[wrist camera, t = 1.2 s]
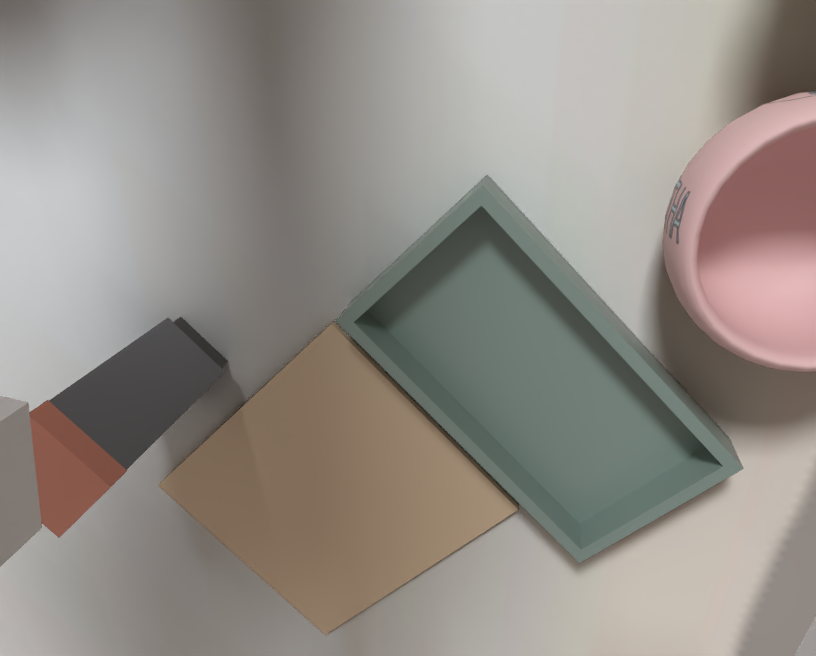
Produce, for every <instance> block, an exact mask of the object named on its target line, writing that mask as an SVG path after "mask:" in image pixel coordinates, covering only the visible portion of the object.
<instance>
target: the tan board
mask: <svg viewBox="0 0 816 656" xmlns="http://www.w3.org/2000/svg"><path fill="white" fill-rule="evenodd" d="M158 486H159V487H160V488H161V489H162V490H164V491H165V492H166V493H167V494H168V495H169V496H170V497H171V498H172V499H174V500H175V501H176V502H177V503H178V504H179V505H180V506H181V507H183V508H184V509H185V510H186V511H187V512H188V513H189V514H190V515H191V516H193V517H194V518H195V519H196V520H197V521H198V522H199V523H200V524H202V525H203V526H204V527H205V528H206V529H207V530H208V531H209V532H210V533H212V534H213V535H214V536H215V537H216V538H217V539H218V540H219V541H221V542H222V543H223V544H224V545H225V546H226V547H227V548H228V549H230V550H231V551H232V552H233V553H234V554H235V555H236V556H237V557H238V558H240V559H241V560H242V561H243V562H244V563H245V564H246V565H247V566H249V567H250V568H251V569H252V570H253V571H254V572H255V573H256V574H257V575H259V576H260V577H261V578H262V579H263V580H264V581H265V582H266V583H268V584H269V585H270V586H271V587H272V588H273V589H274V590H275V591H276V592H278V593H279V594H280V595H281V596H282V597H283V598H284V599H285V600H287V601H288V602H289V603H290V604H291V605H292V606H293V607H294V608H296V609H297V610H298V611H299V612H300V613H301V614H302V615H303V616H304V617H306V618H307V619H308V620H309V621H310V622H311V623H312V624H313V625H315V626H316V627H317V628H318V629H319V630H320V631H321V632H322V633H323V634H325V635H326V634H327V633H329V632H330V631H332V630H334V629H335V628H337V627H338V626H340V625H341V624H343V623H344V622H346V621H347V620H349V619H351V618H352V617H354V616H355V615H357V614H358V613H360V612H361V611H363V610H364V609H366V608H368V607H369V606H371V605H372V604H374V603H375V602H377V601H378V600H380V599H381V598H383V597H385V596H386V595H388V594H389V593H391V592H392V591H394V590H395V589H397V588H398V587H400V586H402V585H403V584H405V583H406V582H408V581H409V580H411V579H412V578H414V577H415V576H417V575H419V574H420V573H422V572H423V571H425V570H426V569H428V568H429V567H431V566H432V565H434V564H436V563H437V562H439V561H440V560H442V559H443V558H445V557H446V556H448V555H449V554H451V553H453V552H454V551H456V550H457V549H459V548H460V547H462V546H463V545H465V544H466V543H468V542H470V541H471V540H473V539H474V538H476V537H477V536H479V535H480V534H482V533H483V532H485V531H487V530H488V529H490V528H491V527H493V526H494V525H496V524H497V523H499V522H500V521H502V520H504V519H505V518H507V517H508V516H510V515H511V514H513V513H514V512H516V511H517V510H519V505H518V504H517V503H516V502H515V501H514V500H513V499H512V498H511V497H510V496H509V495H508V494H507V493H506V492H505V491H504V490H503V489H502V488H501V487H500V486H499V485H498V484H497V483H496V482H495V481H494V480H493V479H492V478H491V477H490V476H489V475H488V474H487V473H486V472H485V471H484V470H483V469H482V468H481V467H480V466H479V465H478V464H477V463H476V462H475V461H474V460H473V459H472V458H471V457H470V456H469V455H468V454H467V453H466V452H465V451H464V450H463V449H462V448H461V447H460V446H459V445H458V444H457V443H456V442H455V441H454V440H453V439H452V438H451V437H450V436H449V435H448V434H447V433H446V432H445V431H444V430H443V429H442V428H441V427H440V426H439V425H438V424H437V423H436V422H435V421H434V420H433V419H432V418H431V417H430V416H429V415H428V414H427V413H426V412H425V411H424V410H423V409H422V408H421V407H420V406H419V405H418V404H417V403H416V402H415V401H414V400H413V399H412V398H411V397H410V396H409V395H408V394H407V393H406V392H405V391H404V390H403V389H402V388H401V387H400V386H399V385H398V384H397V383H396V382H395V381H394V380H393V379H392V378H391V377H390V376H389V375H388V374H387V373H386V372H385V371H384V370H383V369H381V368H380V367H379V366H378V365H377V364H376V363H375V362H374V361H373V360H372V359H371V358H370V357H369V356H368V355H367V354H366V353H365V352H364V351H363V350H362V349H361V348H360V347H359V346H358V345H357V344H356V343H355V342H354V341H353V340H352V339H351V338H350V337H349V336H348V335H347V334H346V333H345V332H344V331H343V330H342V329H341V328H340V327H339V326H338V325H337V324H336V323H335V322H334V321H333V322H332V323H331V324H330V325H329V326H328V327H327V328H326V329H325V330H324V331H323V332H321V333H320V334H319V335H318V336H317V337H316V338H315V339H314V340H313V341H312V342H311V343H310V344H309V345H308V346H306V347H305V348H304V349H303V350H302V351H301V352H300V353H299V354H298V355H297V356H296V357H295V358H294V359H293V360H291V361H290V362H289V363H288V364H287V365H286V366H285V367H284V368H283V369H282V370H281V371H280V372H279V373H277V374H276V375H275V376H274V377H273V378H272V379H271V380H270V381H269V382H268V383H267V384H266V385H265V386H264V387H262V388H261V389H260V390H259V391H258V392H257V393H256V394H255V395H254V396H253V397H252V398H251V399H250V400H249V401H247V402H246V403H245V404H244V405H243V406H242V407H241V408H240V409H239V410H238V411H237V412H236V413H235V414H234V415H232V416H231V417H230V418H229V419H228V420H227V421H226V422H225V423H224V424H223V425H222V426H221V427H220V428H219V429H217V430H216V431H215V432H214V433H213V434H212V435H211V436H210V437H209V438H208V439H207V440H206V441H205V442H204V443H202V444H201V445H200V446H199V447H198V448H197V449H196V450H195V451H194V452H193V453H192V454H191V455H190V456H189V457H187V458H186V459H185V460H184V461H183V462H182V463H181V464H180V465H179V466H178V467H177V468H176V469H175V470H174V471H172V472H171V473H170V474H169V475H168V476H167V477H166V478H165V479H164V480H163V481H162V482H161V483H160V484H159V485H158Z"/></svg>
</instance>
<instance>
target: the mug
mask: <svg viewBox="0 0 816 656" xmlns="http://www.w3.org/2000/svg"><path fill="white" fill-rule="evenodd" d="M663 251H664V259H665V267H666V270H667V273H668V276H669V278H670V281H671V283H672V286H673V289H674V291H675V294H676V296H677V298H678V300H679V301H680V303H681V304H682V306H683V307H684V308H685V310H686V311H687V313H688V314H689V316H690V317H691V319H692V320H693V321H694V323H695V324H696V325H697V326H698V327H699V328H700V329H701V330H702V331H704V332H705V333H706V334H707V335H708V336H709V337H710V338H711V339H712V340H713V341H715V342H716V343H717V344H719V345H720V346H722V347H723V348H725V349H727V350H729V351H730V352H732V353H734V354H736V355H737V356H739V357H741V358H743V359H744V360H747V361H750V362H753V363H756V364H759V365H762V366H765V367H768V368H772V369H780V370H787V371H795V372H816V91H811V92H803V93H796V94H793V95H790V96H787V97H784V98H781V99H778V100H775V101H772V102H769V103H766V104H763V105H761V106H759V107H758V108H756V109H754V110H752V111H750V112H748V113H747V114H745V115H743V116H741V117H739V118H737V119H735V120H734V121H732V122H731V123H729V124H728V125H727V126H726V127H724V128H723V129H722V130H721V131H719V132H718V133H717V134H716V135H714V136H713V137H712V138H711V139H709V140H708V141H707V142H706V143H705V145H704V146H703V147H702V148H701V149H700V150H699V152H698V153H697V154H696V155H695V156H694V157H693V159H692V160H691V161H690V162H689V163H688V165H687V167H686V168H685V170H684V172H683V174H682V175H681V177H680V179H679V181H678V182H677V184H676V186H675V188H674V191H673V194H672V197H671V200H670V203H669V206H668V209H667V212H666V215H665V224H664V233H663Z"/></svg>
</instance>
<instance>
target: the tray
mask: <svg viewBox="0 0 816 656" xmlns="http://www.w3.org/2000/svg"><path fill="white" fill-rule="evenodd" d="M336 322H337V323H338V324H339V325H340V326H341V327H342V328H343V329H344V330H345V331H346V332H347V333H348V334H349V335H350V336H351V337H352V338H353V339H354V340H355V341H356V342H357V343H358V344H359V345H360V346H361V347H362V348H363V349H364V350H365V351H366V352H367V353H368V354H369V355H370V356H371V357H372V358H373V359H375V360H376V361H377V362H378V363H379V364H380V365H381V366H382V367H383V368H384V369H385V370H386V371H387V372H388V373H389V374H390V375H391V376H392V377H393V378H394V379H395V380H396V381H397V382H398V383H399V384H400V385H401V386H402V387H403V388H404V389H405V390H406V391H407V392H408V393H409V394H410V395H411V396H412V397H413V398H414V399H415V400H416V401H417V402H418V403H419V404H420V405H421V406H422V407H423V408H424V409H425V410H426V411H427V412H428V413H429V414H430V415H431V416H432V417H433V418H434V419H435V420H436V421H437V422H438V423H439V424H440V425H441V426H442V427H443V428H444V429H445V430H446V431H447V432H448V433H449V434H450V435H451V436H452V437H453V438H454V439H455V440H456V441H457V442H458V443H459V444H460V445H461V446H462V447H463V448H464V449H465V450H466V451H467V452H468V453H469V454H470V455H471V456H472V457H473V458H474V459H475V460H476V461H477V462H478V463H479V464H480V465H481V466H482V467H483V468H484V469H485V470H486V471H487V472H488V473H489V474H490V475H491V476H492V477H493V478H494V479H495V480H496V481H497V482H498V483H499V484H500V485H501V486H502V487H503V488H504V489H505V490H506V491H507V492H508V493H509V494H510V495H511V496H512V497H513V498H514V499H515V500H516V501H517V502H518V503H519V504H520V505H521V506H522V507H523V508H524V509H525V510H526V511H527V512H528V513H529V514H530V515H531V516H532V517H533V518H534V519H535V520H536V521H537V522H538V523H539V524H540V525H541V526H542V527H544V528H545V529H546V530H547V531H548V532H549V533H550V534H551V535H552V536H553V537H554V538H555V539H556V540H557V541H558V542H559V543H560V544H561V545H562V546H563V547H564V548H565V549H566V550H567V551H568V552H569V553H570V554H571V555H572V556H573V557H574V558H575V559H576V560H577V561H578V562H579V563H581V562H583V561H584V560H586V559H588V558H590V557H591V556H593V555H595V554H596V553H598V552H600V551H602V550H603V549H605V548H607V547H609V546H610V545H612V544H614V543H616V542H617V541H619V540H621V539H622V538H624V537H626V536H628V535H629V534H631V533H633V532H635V531H636V530H638V529H640V528H642V527H643V526H645V525H647V524H648V523H650V522H652V521H654V520H655V519H657V518H659V517H661V516H662V515H664V514H666V513H668V512H669V511H671V510H673V509H674V508H676V507H678V506H680V505H681V504H683V503H685V502H687V501H688V500H690V499H692V498H694V497H695V496H697V495H699V494H700V493H702V492H704V491H706V490H707V489H709V488H711V487H713V486H714V485H716V484H718V483H720V482H721V481H723V480H725V479H726V478H728V477H730V476H732V475H733V474H735V473H737V472H739V471H740V470H742V469H744V468H743V466H742V464H741V462H740V460H739V458H738V455H737V453H736V451H735V449H734V447H733V445H732V443H731V440H730V439H729V437H728V436H727V435H726V434H725V433H724V432H723V431H722V430H721V429H720V428H719V427H718V425H717V424H716V423H715V422H714V421H713V420H712V419H711V418H710V417H709V416H708V415H707V413H706V412H705V411H704V410H703V409H702V408H701V407H700V406H699V405H698V404H697V403H696V401H695V400H694V399H693V398H692V397H691V396H690V395H689V394H688V393H687V392H686V391H685V389H684V388H683V387H682V386H681V385H680V384H679V383H678V382H677V381H676V380H675V379H674V377H673V376H672V375H671V374H670V373H669V372H668V371H667V370H666V369H665V368H664V367H663V365H662V364H661V363H660V362H659V361H658V360H657V359H656V358H655V357H654V356H653V355H652V353H651V352H650V351H649V350H648V349H647V348H646V347H645V346H644V345H643V344H642V343H641V342H640V340H639V339H638V338H637V337H636V336H635V335H634V334H633V333H632V332H631V331H630V330H629V328H628V327H627V326H626V325H625V324H624V323H623V322H622V321H621V320H620V319H619V318H618V316H617V315H616V314H615V313H614V312H613V311H612V310H611V309H610V308H609V307H608V306H607V304H606V303H605V302H604V301H603V300H602V299H601V298H600V297H599V296H598V295H597V294H596V292H595V291H594V290H593V289H592V288H591V287H590V286H589V285H588V284H587V283H586V282H585V280H584V279H583V278H582V277H581V276H580V275H579V274H578V273H577V272H576V271H575V270H574V268H573V267H572V266H571V265H570V264H569V263H568V262H567V261H566V260H565V259H564V258H563V256H562V255H561V254H560V253H559V252H558V251H557V250H556V249H555V248H554V247H553V246H552V244H551V243H550V242H549V241H548V240H547V239H546V238H545V237H544V236H543V235H542V234H541V232H540V231H539V230H538V229H537V228H536V227H535V226H534V225H533V224H532V223H531V222H530V220H529V219H528V218H527V217H526V216H525V215H524V214H523V213H522V212H521V211H520V210H519V208H518V207H517V206H516V205H515V204H514V203H513V202H512V201H511V200H510V199H509V198H508V196H507V195H506V194H505V193H504V192H503V191H502V190H501V189H500V188H499V187H498V186H497V184H496V183H495V182H494V181H493V180H492V179H491V178H490V177H489V176H488V175H486V176H485V177H484V178H483V179H482V180H481V181H480V182H479V183H478V184H477V185H476V186H475V187H474V188H473V189H471V190H470V191H469V192H468V193H467V194H466V195H465V196H464V197H463V198H462V199H461V200H460V201H459V202H458V203H456V204H455V205H454V206H453V207H452V208H451V209H450V210H449V211H448V212H447V213H446V214H445V215H444V216H443V217H442V218H440V219H439V220H438V221H437V222H436V223H435V224H434V225H433V226H432V227H431V228H430V229H429V230H428V231H427V232H425V233H424V234H423V235H422V236H421V237H420V238H419V239H418V240H417V241H416V242H415V243H414V244H413V245H412V246H411V247H409V248H408V249H407V250H406V251H405V252H404V253H403V254H402V255H401V256H400V257H399V258H398V259H397V260H396V261H394V262H393V263H392V264H391V265H390V266H389V267H388V268H387V269H386V270H385V271H384V272H383V273H382V274H381V275H380V276H378V277H377V278H376V279H375V280H374V281H373V282H372V283H371V284H370V285H369V286H368V287H367V288H366V289H365V290H363V291H362V292H361V293H360V294H359V295H358V296H357V297H356V298H355V299H354V300H353V301H352V302H351V303H350V304H349V305H348V306H347V308H346V309H345V310H344V311H343V313H342V314H341V315H340V317H339V318H338V319H337V320H336Z"/></svg>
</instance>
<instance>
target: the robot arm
mask: <svg viewBox="0 0 816 656" xmlns="http://www.w3.org/2000/svg"><path fill="white" fill-rule="evenodd" d="M41 528H42V523H41V514H40V505H39V496H38V487H37V478H36V469H35V460H34V450H33V441H32V432H31V423H30V414H29V405H28V402H24V401H19V400H15V399H11V398H7V397H3V396H0V567H1V566H2V565H3V564H4V563H5V562H6V561H7V560H8V559H9V558H10V557H11V556H12V555H13V554H14V553H15V552H17V551H18V550H19V549H20V548H21V547H22V546H23V545H24V544H25V543H26V542H27V541H28V540H29V539H30V538H31V537H32V536H34V535H35V534H36V533H37V532H38V531H39V530H40V529H41ZM795 656H816V617H815V619H814V620H813V622H812V624H811V626H810V628H809V630H808V631H807V633H806V635H805V637H804V639H803V641H802V643H801V644H800V646H799V648H798V650H797V652H796V654H795Z"/></svg>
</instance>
